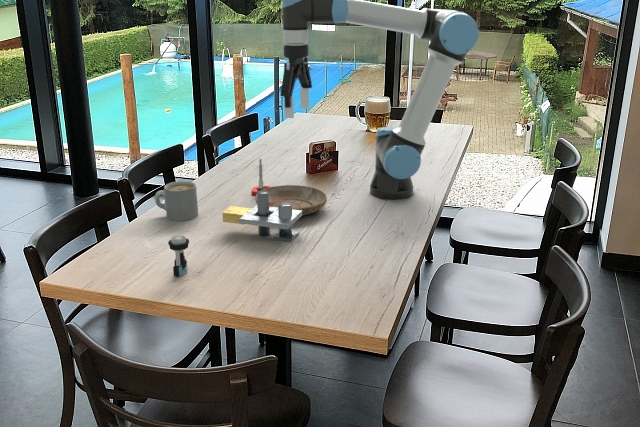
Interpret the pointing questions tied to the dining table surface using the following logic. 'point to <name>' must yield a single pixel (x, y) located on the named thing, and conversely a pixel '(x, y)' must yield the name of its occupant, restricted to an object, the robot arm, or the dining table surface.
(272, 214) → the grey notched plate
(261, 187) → the tow hook
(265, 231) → the pin
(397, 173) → the robot arm
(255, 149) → the dining table surface
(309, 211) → the ceramic bowl
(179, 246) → the push button
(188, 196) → the coffee mug
